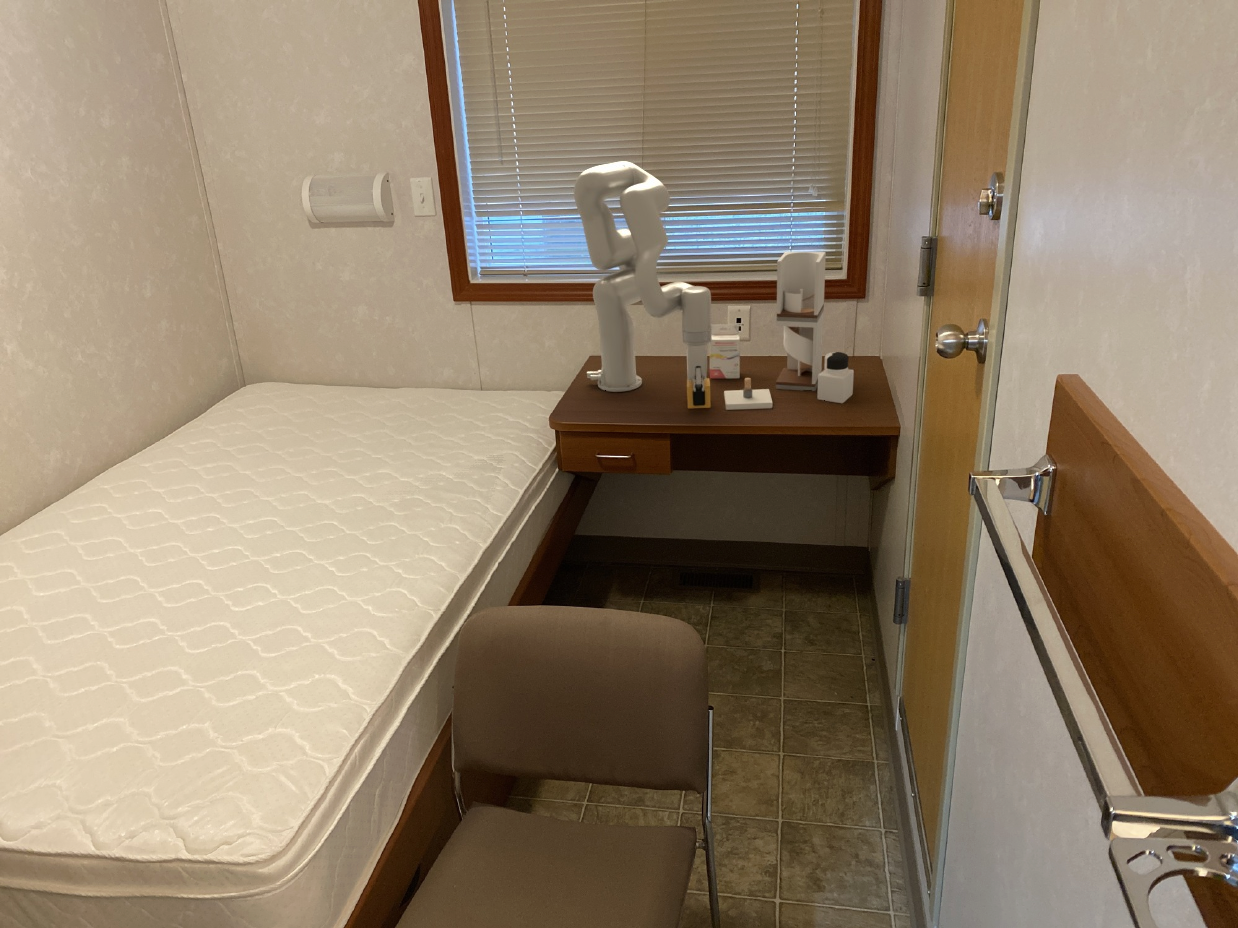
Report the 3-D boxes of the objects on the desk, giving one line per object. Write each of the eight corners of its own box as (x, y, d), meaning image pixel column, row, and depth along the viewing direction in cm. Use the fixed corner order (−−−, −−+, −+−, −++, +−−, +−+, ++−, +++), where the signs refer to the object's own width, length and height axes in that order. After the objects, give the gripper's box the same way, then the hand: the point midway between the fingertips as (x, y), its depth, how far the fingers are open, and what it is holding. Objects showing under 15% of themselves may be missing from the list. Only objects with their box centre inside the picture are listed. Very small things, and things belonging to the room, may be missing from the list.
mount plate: (726, 409, 238) (725, 386, 235) (724, 396, 247) (723, 373, 244) (772, 408, 237) (772, 384, 234) (768, 394, 246) (769, 371, 243)
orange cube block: (687, 408, 240) (687, 387, 238) (687, 400, 246) (686, 379, 243) (710, 407, 240) (710, 386, 237) (709, 399, 245) (709, 378, 243)
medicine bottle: (852, 395, 242) (855, 351, 237) (842, 404, 237) (844, 360, 232) (827, 391, 246) (829, 348, 241) (816, 399, 240) (818, 356, 235)
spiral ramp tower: (783, 374, 259) (785, 251, 244) (821, 377, 256) (825, 252, 241) (775, 388, 249) (777, 261, 235) (814, 391, 246) (819, 262, 231)
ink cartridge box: (709, 379, 260) (708, 329, 253) (709, 373, 264) (708, 324, 258) (740, 378, 259) (739, 328, 252) (739, 372, 263) (739, 323, 257)
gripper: (682, 326, 243) (684, 389, 251) (682, 346, 227) (685, 413, 235) (710, 325, 242) (711, 388, 250) (713, 345, 227) (714, 412, 234)
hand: (698, 399), depth 242 cm, fingers closed on orange cube block, 5 cm apart
